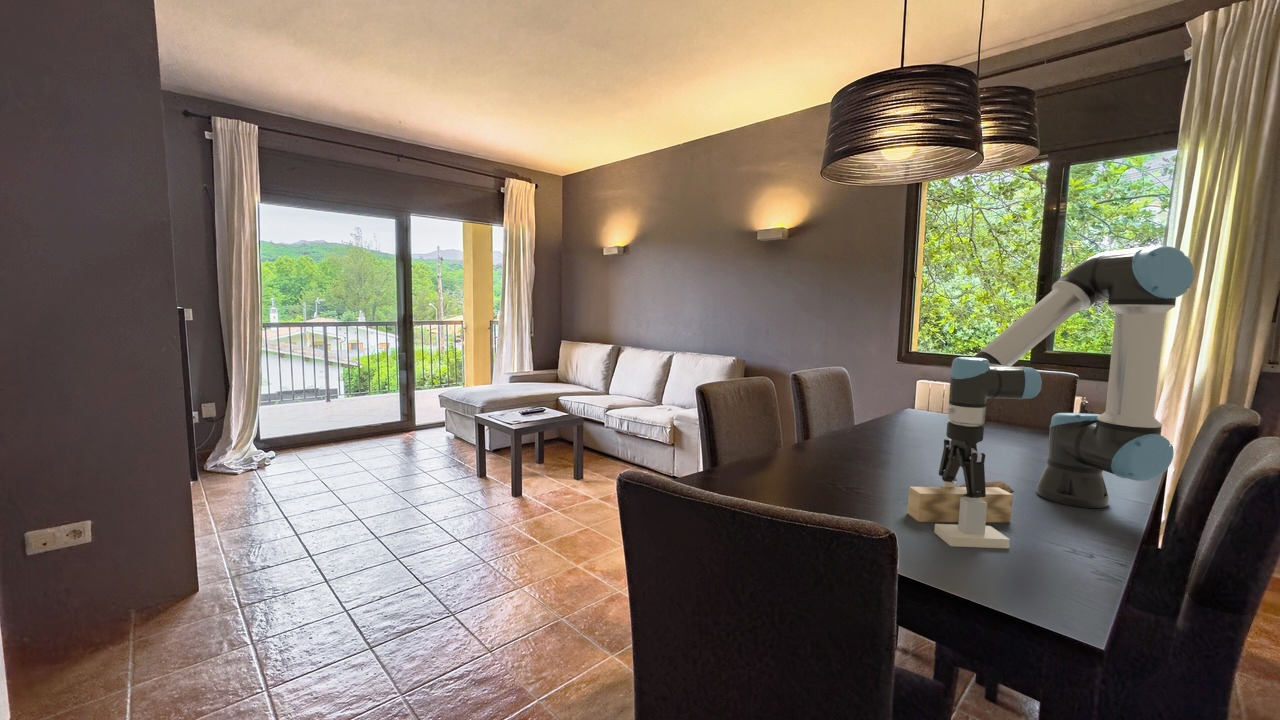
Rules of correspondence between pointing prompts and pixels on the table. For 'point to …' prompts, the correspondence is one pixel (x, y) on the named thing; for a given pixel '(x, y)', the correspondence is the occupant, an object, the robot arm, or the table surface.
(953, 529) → the stand
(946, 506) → the batten
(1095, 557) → the table surface
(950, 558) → the table surface
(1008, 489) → the wooden fragment
